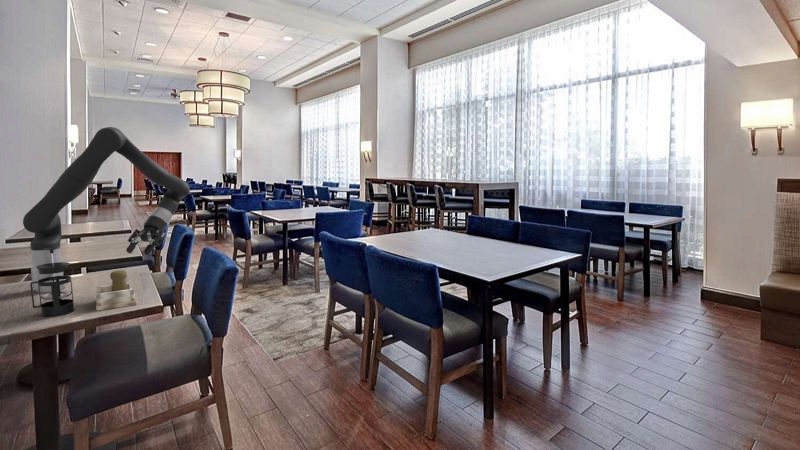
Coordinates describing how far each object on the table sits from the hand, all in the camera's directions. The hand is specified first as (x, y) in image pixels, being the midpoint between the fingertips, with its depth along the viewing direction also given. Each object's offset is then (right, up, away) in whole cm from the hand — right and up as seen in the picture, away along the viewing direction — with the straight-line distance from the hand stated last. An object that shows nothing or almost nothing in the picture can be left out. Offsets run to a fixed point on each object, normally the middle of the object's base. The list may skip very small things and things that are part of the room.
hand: (136, 253), depth 165 cm
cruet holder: (-3, -18, -7) cm, 20 cm away
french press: (-16, -20, -19) cm, 32 cm away
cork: (-1, -17, -8) cm, 19 cm away
